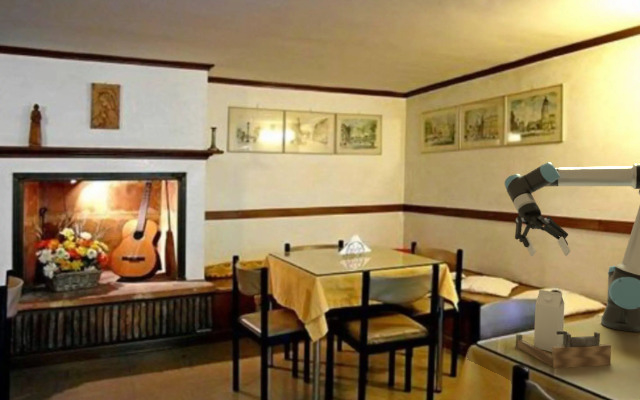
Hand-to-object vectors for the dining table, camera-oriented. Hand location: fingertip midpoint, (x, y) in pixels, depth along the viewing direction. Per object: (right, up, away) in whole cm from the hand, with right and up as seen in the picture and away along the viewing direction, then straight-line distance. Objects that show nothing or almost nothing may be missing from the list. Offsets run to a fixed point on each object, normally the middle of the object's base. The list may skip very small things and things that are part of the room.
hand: (550, 253), depth 180 cm
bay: (-5, -30, -17) cm, 35 cm away
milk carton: (-6, -30, -11) cm, 33 cm away
